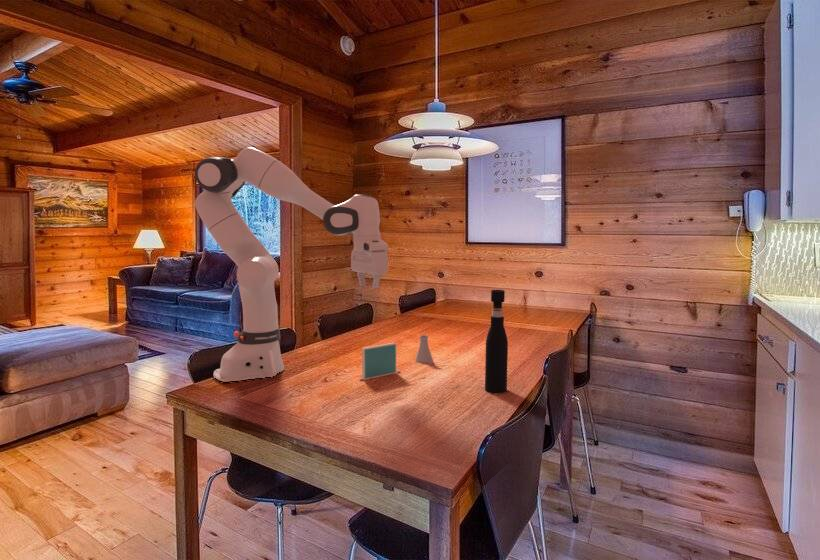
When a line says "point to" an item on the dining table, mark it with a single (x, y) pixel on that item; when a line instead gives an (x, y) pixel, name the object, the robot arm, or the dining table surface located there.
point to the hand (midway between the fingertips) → (369, 286)
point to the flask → (424, 351)
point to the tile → (378, 360)
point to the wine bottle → (496, 348)
